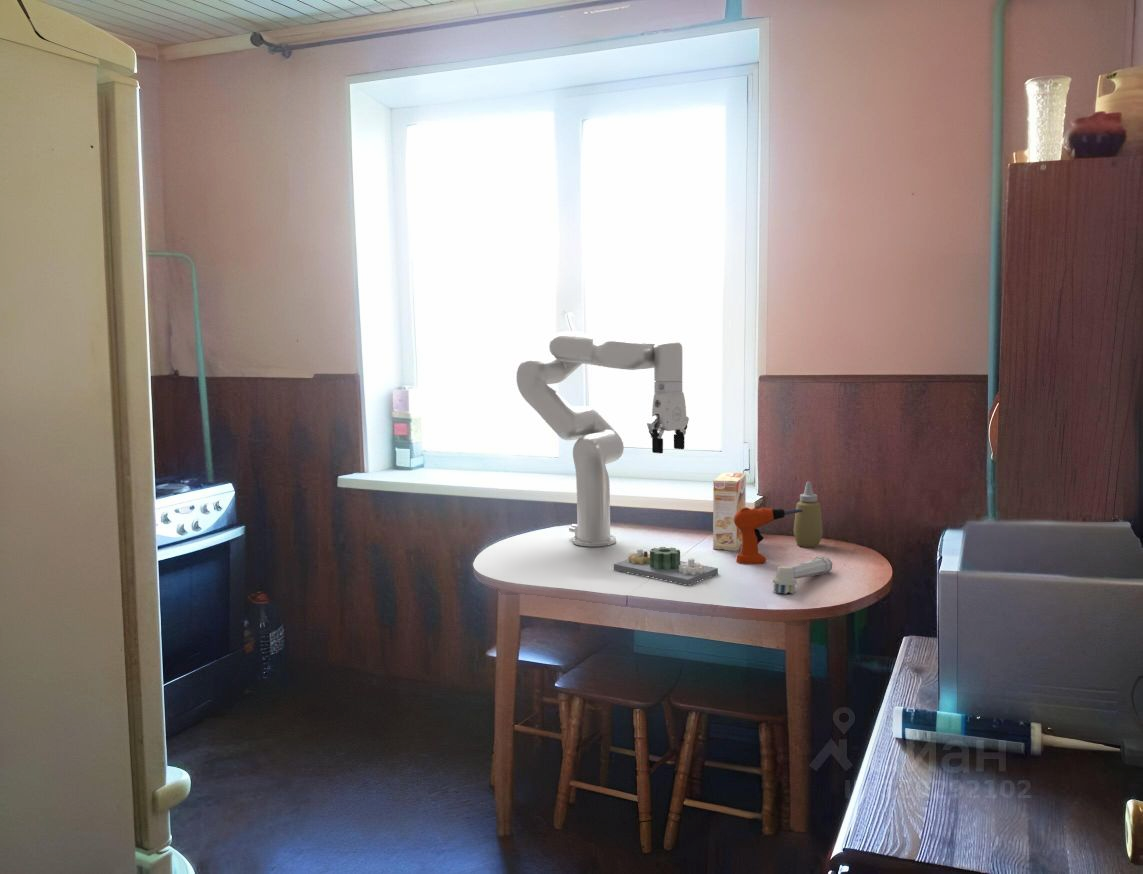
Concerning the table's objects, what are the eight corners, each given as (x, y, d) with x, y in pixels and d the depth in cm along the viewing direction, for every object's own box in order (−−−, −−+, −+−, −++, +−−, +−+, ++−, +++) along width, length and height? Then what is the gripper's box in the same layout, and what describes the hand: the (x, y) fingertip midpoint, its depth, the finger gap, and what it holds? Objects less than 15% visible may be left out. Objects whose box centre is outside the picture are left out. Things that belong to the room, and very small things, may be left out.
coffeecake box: (737, 551, 244) (737, 481, 241) (712, 549, 246) (712, 480, 244) (746, 539, 258) (746, 472, 255) (722, 537, 260) (722, 471, 258)
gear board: (613, 569, 227) (613, 552, 227) (644, 559, 237) (644, 543, 236) (688, 585, 212) (687, 567, 211) (717, 574, 221) (717, 556, 221)
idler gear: (668, 571, 219) (668, 555, 218) (644, 566, 224) (644, 551, 223) (685, 565, 224) (685, 549, 224) (661, 560, 229) (661, 545, 229)
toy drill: (810, 557, 230) (804, 501, 228) (739, 567, 230) (731, 511, 228) (805, 552, 235) (798, 497, 233) (735, 562, 235) (728, 507, 233)
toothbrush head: (835, 558, 220) (790, 565, 201) (833, 584, 220) (788, 594, 201) (815, 554, 224) (769, 562, 205) (813, 581, 224) (767, 590, 205)
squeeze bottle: (791, 547, 247) (791, 483, 244) (795, 541, 254) (795, 479, 252) (821, 549, 243) (821, 485, 241) (824, 543, 251) (825, 480, 249)
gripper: (660, 390, 230) (660, 455, 232) (698, 386, 242) (698, 448, 244) (637, 389, 235) (637, 453, 237) (676, 385, 247) (676, 446, 249)
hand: (668, 450), depth 241 cm, fingers open, 9 cm apart
